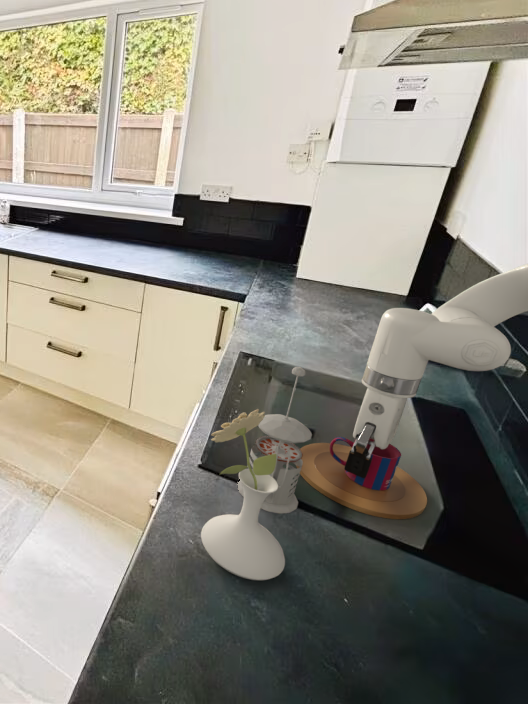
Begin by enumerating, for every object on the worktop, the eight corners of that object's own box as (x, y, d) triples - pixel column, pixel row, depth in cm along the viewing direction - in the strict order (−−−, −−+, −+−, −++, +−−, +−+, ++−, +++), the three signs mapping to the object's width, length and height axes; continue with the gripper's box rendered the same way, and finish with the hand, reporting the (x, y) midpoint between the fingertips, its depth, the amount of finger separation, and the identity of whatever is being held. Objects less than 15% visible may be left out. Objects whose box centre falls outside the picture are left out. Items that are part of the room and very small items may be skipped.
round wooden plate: (435, 484, 85) (437, 479, 84) (412, 538, 72) (414, 533, 72) (315, 435, 99) (316, 431, 99) (278, 474, 86) (279, 469, 86)
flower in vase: (258, 526, 74) (293, 390, 66) (299, 589, 64) (347, 436, 55) (178, 525, 74) (203, 389, 65) (206, 587, 63) (240, 435, 55)
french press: (296, 485, 84) (331, 362, 75) (301, 528, 74) (343, 393, 65) (237, 468, 88) (264, 350, 79) (235, 508, 78) (266, 377, 69)
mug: (384, 496, 80) (396, 464, 78) (320, 468, 87) (329, 437, 84) (393, 479, 84) (404, 448, 82) (331, 453, 91) (340, 424, 89)
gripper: (406, 405, 70) (374, 495, 76) (428, 373, 81) (398, 454, 87) (349, 387, 76) (323, 472, 82) (377, 359, 86) (352, 436, 92)
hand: (362, 462), depth 84 cm, fingers open, 9 cm apart
